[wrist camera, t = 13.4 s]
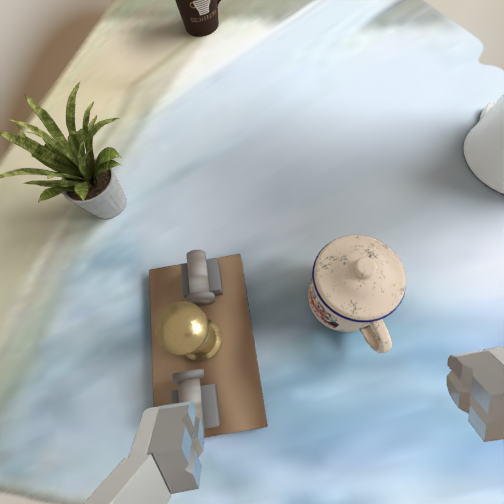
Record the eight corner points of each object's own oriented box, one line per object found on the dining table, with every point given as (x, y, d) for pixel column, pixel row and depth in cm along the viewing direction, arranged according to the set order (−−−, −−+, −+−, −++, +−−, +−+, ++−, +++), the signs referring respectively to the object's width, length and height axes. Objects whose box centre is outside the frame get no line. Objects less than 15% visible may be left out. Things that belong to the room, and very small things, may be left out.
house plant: (156, 150, 51) (105, 52, 36) (171, 224, 46) (119, 145, 31) (68, 174, 50) (-22, 85, 35) (73, 252, 45) (-30, 186, 30)
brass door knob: (219, 316, 39) (203, 297, 30) (224, 357, 37) (209, 349, 28) (180, 323, 39) (154, 306, 30) (183, 364, 37) (156, 358, 28)
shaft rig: (241, 258, 43) (235, 237, 37) (267, 425, 35) (265, 433, 29) (153, 273, 43) (132, 255, 37) (159, 443, 35) (135, 455, 29)
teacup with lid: (294, 277, 41) (300, 240, 31) (358, 253, 42) (386, 208, 31) (335, 370, 37) (359, 365, 26) (407, 342, 37) (459, 325, 27)
